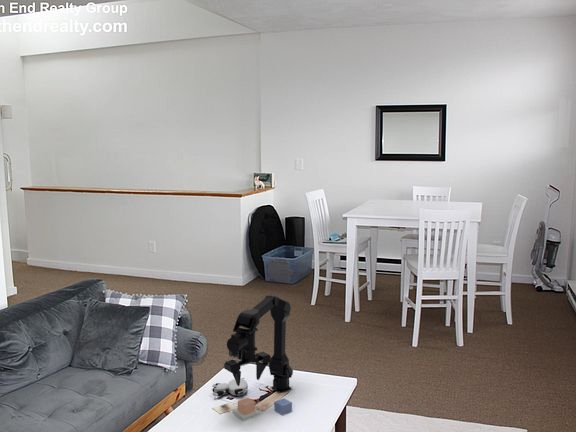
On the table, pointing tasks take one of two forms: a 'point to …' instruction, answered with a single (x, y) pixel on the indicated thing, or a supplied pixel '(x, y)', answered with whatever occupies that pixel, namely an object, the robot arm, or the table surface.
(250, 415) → the grey baseplate
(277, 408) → the navy brick
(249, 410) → the terracotta brick
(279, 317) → the robot arm
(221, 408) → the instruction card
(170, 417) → the table surface
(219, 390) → the robot toy
